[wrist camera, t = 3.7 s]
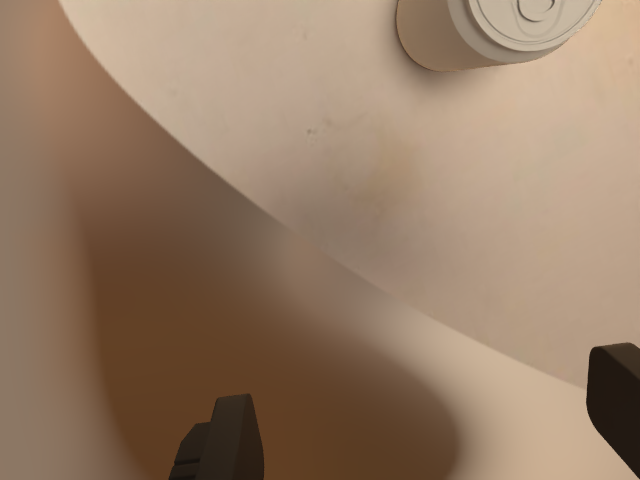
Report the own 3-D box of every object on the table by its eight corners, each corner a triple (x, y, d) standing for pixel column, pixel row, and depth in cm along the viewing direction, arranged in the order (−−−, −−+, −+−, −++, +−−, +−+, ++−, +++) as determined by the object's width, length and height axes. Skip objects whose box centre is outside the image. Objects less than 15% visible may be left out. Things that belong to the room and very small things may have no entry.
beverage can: (492, -48, 27) (631, -148, 16) (495, 64, 29) (620, 47, 18) (388, -31, 27) (452, -119, 16) (398, 80, 29) (461, 72, 18)
